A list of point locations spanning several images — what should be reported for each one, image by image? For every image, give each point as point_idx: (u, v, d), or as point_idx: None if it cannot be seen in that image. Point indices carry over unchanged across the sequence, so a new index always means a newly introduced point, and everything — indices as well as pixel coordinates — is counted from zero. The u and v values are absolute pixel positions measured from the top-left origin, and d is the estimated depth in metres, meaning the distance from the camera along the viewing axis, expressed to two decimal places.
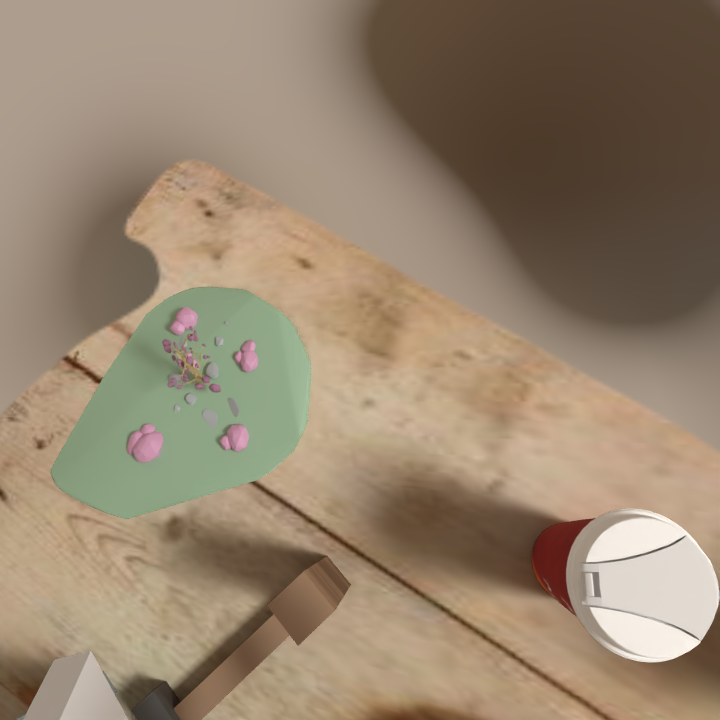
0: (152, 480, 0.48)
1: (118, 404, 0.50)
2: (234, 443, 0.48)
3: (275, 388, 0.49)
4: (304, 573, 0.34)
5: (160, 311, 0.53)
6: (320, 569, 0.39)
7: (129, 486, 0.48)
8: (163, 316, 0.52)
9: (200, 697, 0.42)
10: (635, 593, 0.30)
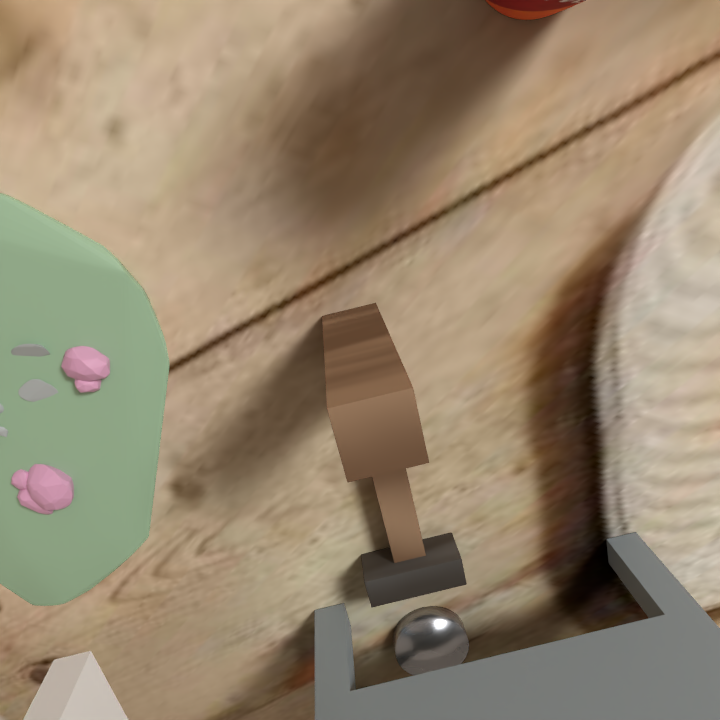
0: (105, 495, 0.32)
1: None
2: (92, 375, 0.29)
3: (21, 273, 0.27)
4: (331, 408, 0.19)
5: None
6: (336, 354, 0.24)
7: (101, 525, 0.33)
8: None
9: (399, 533, 0.33)
10: None
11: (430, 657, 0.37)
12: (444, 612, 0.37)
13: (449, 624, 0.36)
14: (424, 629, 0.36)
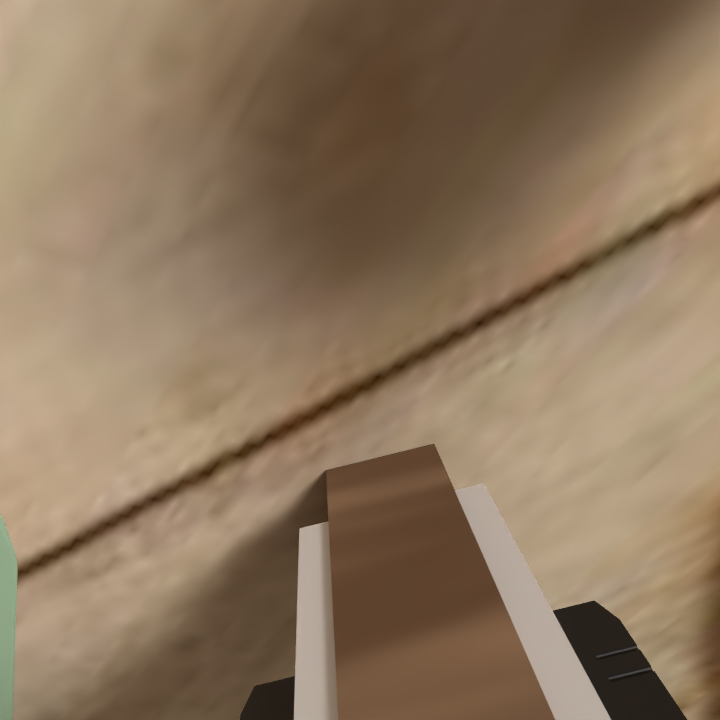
0: None
1: None
2: None
3: None
4: None
5: None
6: (372, 693, 0.08)
7: None
8: None
9: None
10: None
11: None
12: None
13: None
14: None
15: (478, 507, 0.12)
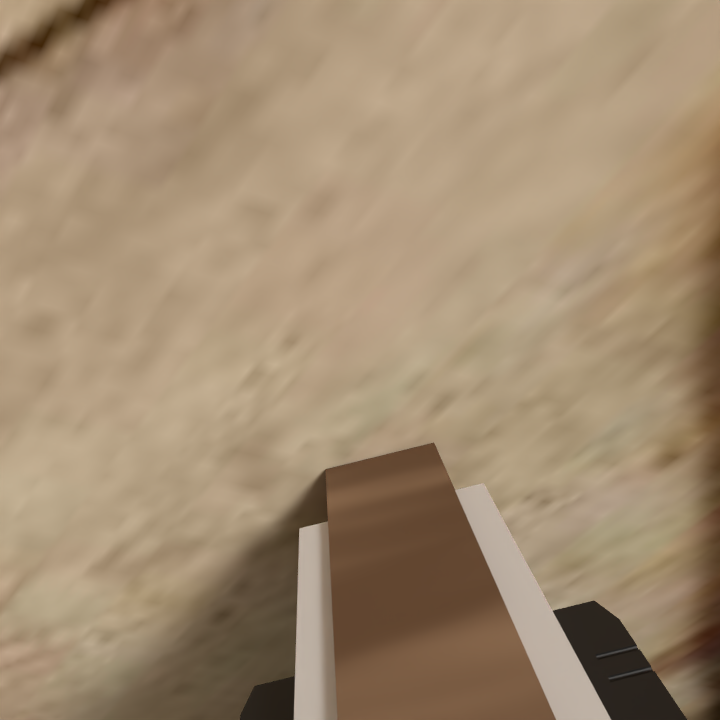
0: None
1: None
2: None
3: None
4: None
5: None
6: (371, 692, 0.08)
7: None
8: None
9: None
10: None
11: None
12: None
13: None
14: None
15: (478, 507, 0.12)
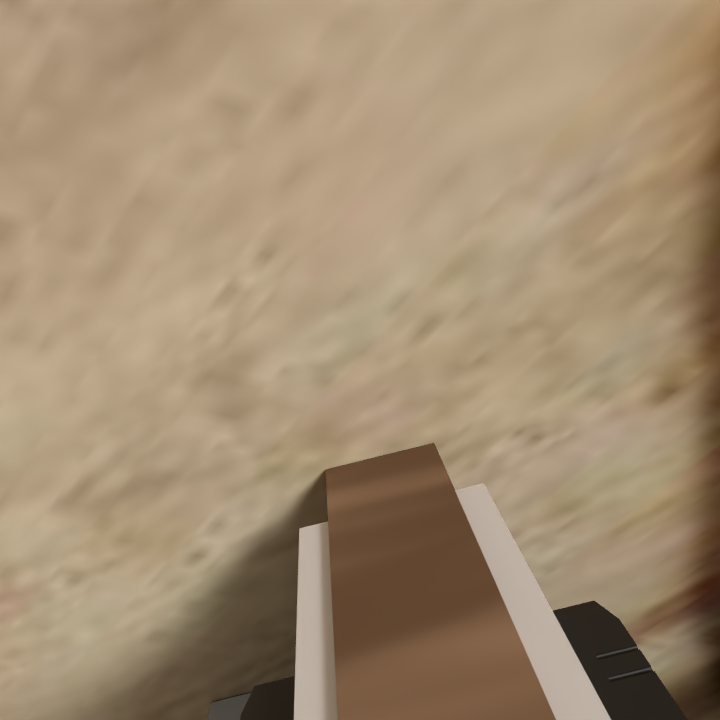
0: None
1: None
2: None
3: None
4: None
5: None
6: (371, 693, 0.08)
7: None
8: None
9: None
10: None
11: None
12: None
13: None
14: None
15: (478, 507, 0.12)
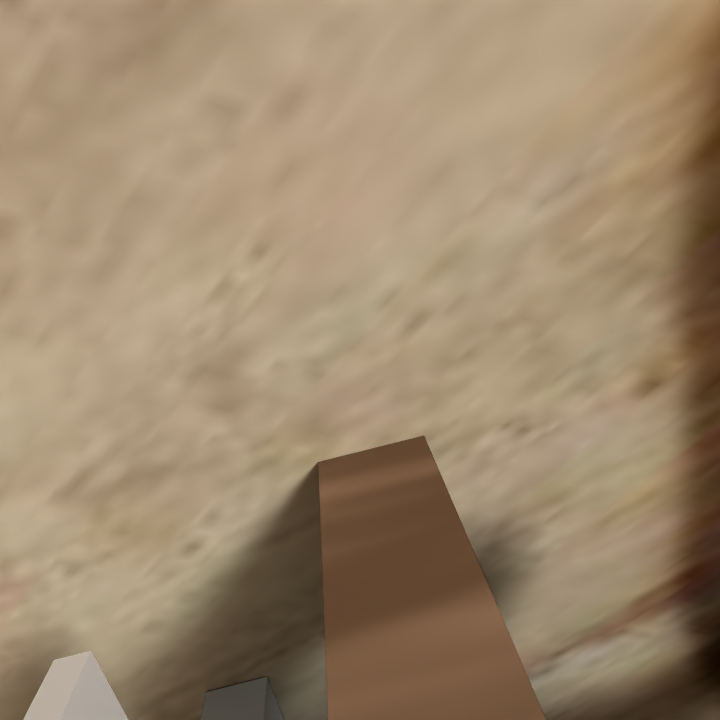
0: None
1: None
2: None
3: None
4: None
5: None
6: (359, 670, 0.09)
7: None
8: None
9: None
10: None
11: None
12: None
13: None
14: None
15: None
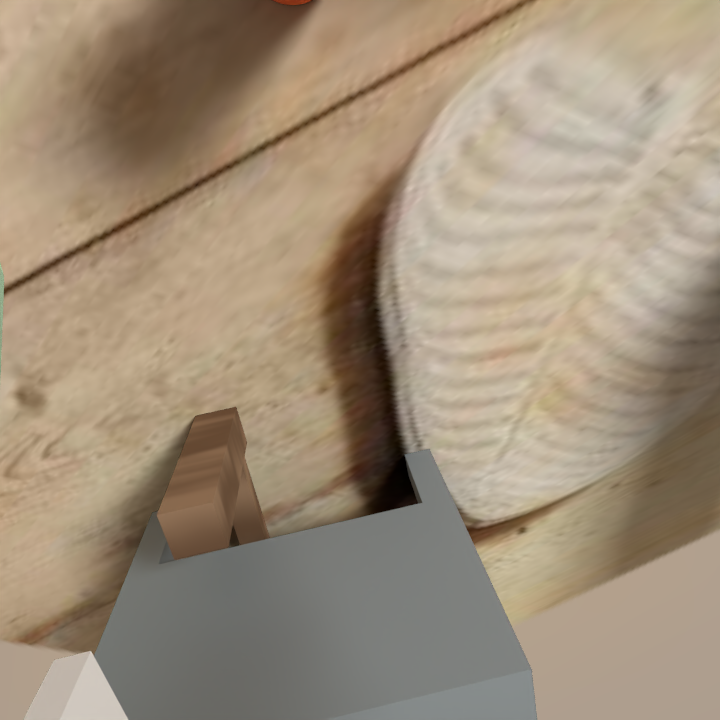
0: None
1: None
2: None
3: None
4: (159, 514, 0.29)
5: None
6: (185, 461, 0.34)
7: None
8: None
9: None
10: None
11: None
12: None
13: None
14: None
15: None
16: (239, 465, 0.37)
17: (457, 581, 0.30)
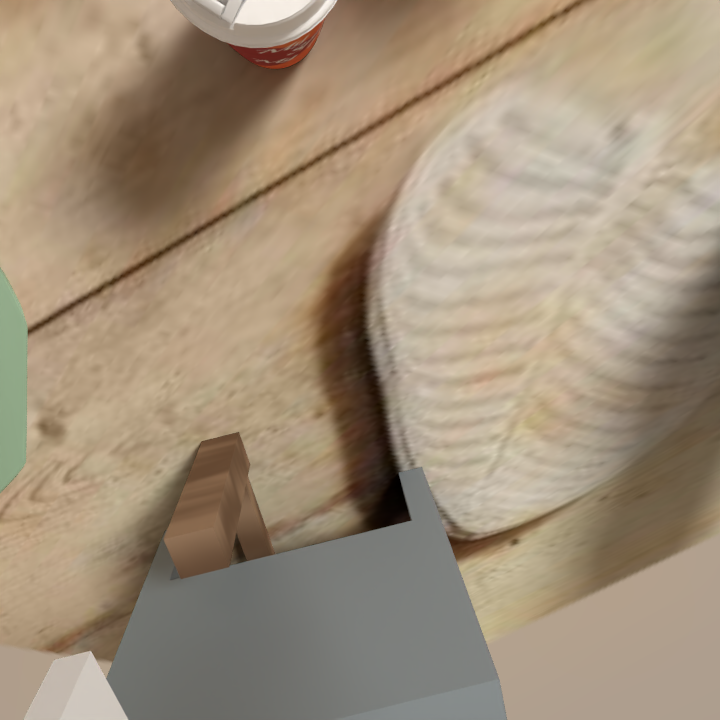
0: None
1: None
2: None
3: None
4: (166, 539, 0.32)
5: None
6: (190, 487, 0.37)
7: None
8: None
9: None
10: None
11: None
12: None
13: None
14: None
15: None
16: (241, 488, 0.40)
17: (438, 596, 0.33)
